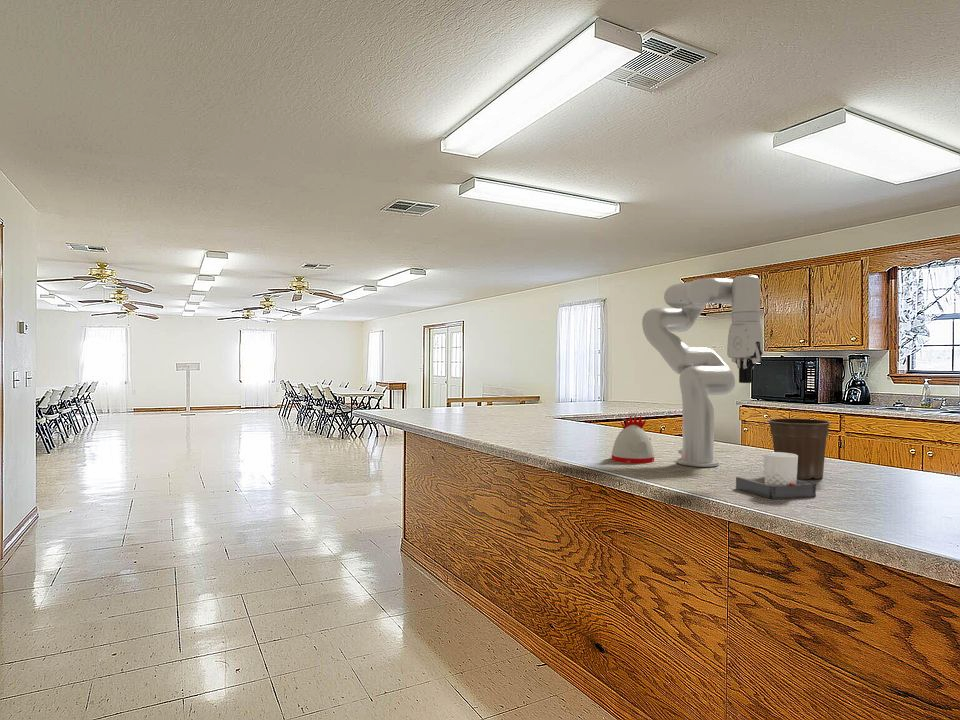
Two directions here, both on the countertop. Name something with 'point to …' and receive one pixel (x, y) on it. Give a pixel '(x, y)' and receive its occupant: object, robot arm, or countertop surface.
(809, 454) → the plant pot
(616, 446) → the white and red dome
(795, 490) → the bracket
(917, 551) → the countertop surface
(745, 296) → the robot arm
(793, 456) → the white cup
